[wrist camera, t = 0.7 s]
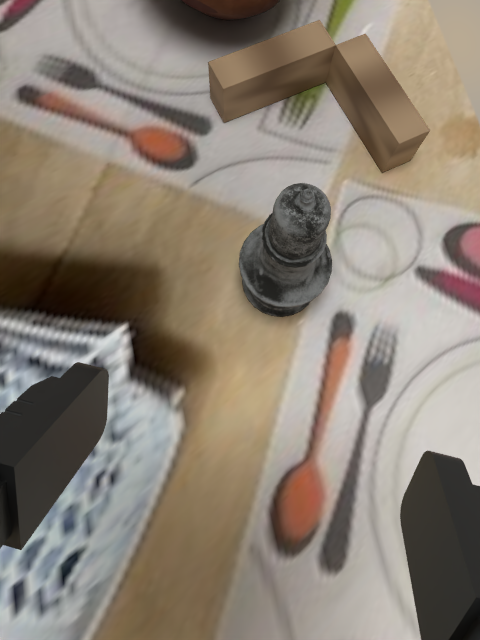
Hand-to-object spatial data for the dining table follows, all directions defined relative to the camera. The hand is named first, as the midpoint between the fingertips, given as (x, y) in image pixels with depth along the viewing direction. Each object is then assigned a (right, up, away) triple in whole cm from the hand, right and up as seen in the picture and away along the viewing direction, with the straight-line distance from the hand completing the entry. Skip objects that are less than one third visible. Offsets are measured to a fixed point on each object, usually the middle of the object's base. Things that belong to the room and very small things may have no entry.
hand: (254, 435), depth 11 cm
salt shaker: (+2, +6, +20) cm, 21 cm away
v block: (+6, +20, +24) cm, 31 cm away
